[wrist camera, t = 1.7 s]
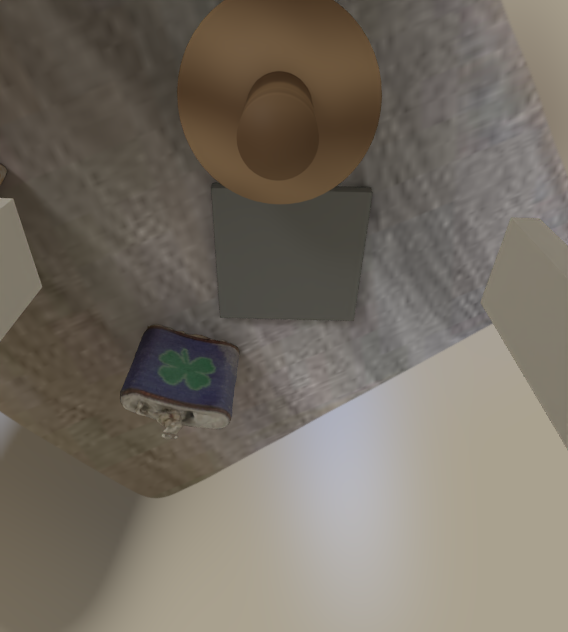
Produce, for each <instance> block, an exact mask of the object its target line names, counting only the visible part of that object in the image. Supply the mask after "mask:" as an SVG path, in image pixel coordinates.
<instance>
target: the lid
mask: <svg viewBox="0 0 568 632" xmlns="http://www.w3.org/2000/svg"><path fill="white" fill-rule="evenodd" d="M177 97H178V109H179V115H180V121H181V124H182V127H183V131H184V134H185V136H186V139H187V141H188V143H189V146H190V147H191V149H192V151H193V153H194V154H195V156H196V158H197V159H198V160H199V162H200V163H201V165H202V166H203V167H204V168H205V169H206V170H207V172H208V173H209V174H210V175H211V176H212V177H213V178H214V179H216V180H217V181H218V182H219V183H220V184H222V185H223V186H225V187H226V188H228V189H229V190H231V191H232V192H234V193H236V194H238V195H240V196H242V197H245V198H248V199H250V200H253V201H257V202H262V203H268V204H292V203H299V202H303V201H307V200H310V199H313V198H315V197H318V196H320V195H322V194H324V193H326V192H328V191H329V190H331V189H333V188H334V187H336V186H337V185H338V184H340V183H341V182H342V181H344V180H345V179H346V178H347V177H348V176H349V175H350V174H351V173H352V172H353V171H354V169H355V168H356V167H357V166H358V164H359V163H360V162H361V160H362V159H363V157H364V156H365V154H366V152H367V151H368V149H369V147H370V145H371V142H372V140H373V138H374V135H375V132H376V129H377V126H378V122H379V117H380V112H381V100H382V91H381V78H380V72H379V67H378V64H377V60H376V57H375V53H374V51H373V49H372V47H371V44H370V42H369V40H368V38H367V37H366V35H365V33H364V32H363V30H362V28H361V27H360V26H359V24H358V23H357V22H356V21H355V19H354V18H353V17H352V16H351V15H350V14H349V13H348V12H347V11H346V10H345V9H344V8H343V7H342V6H340V5H339V4H338V3H336V2H335V1H333V0H224V1H223V2H221V3H220V4H219V5H218V6H216V7H215V8H214V9H213V10H212V11H211V12H210V13H209V14H208V15H207V16H206V17H205V18H204V19H203V20H202V22H201V23H200V25H199V26H198V28H197V29H196V30H195V32H194V33H193V35H192V37H191V39H190V41H189V43H188V45H187V47H186V50H185V53H184V56H183V59H182V61H181V66H180V71H179V76H178V88H177Z"/></svg>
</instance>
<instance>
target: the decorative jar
mask: <svg viewBox="0 0 568 632" xmlns="http://www.w3.org/2000/svg"><path fill="white" fill-rule="evenodd" d="M6 172H7V171H6V168H5V167H4V166H2V165H0V185H1V183H2V181H3V180H4V178H5V175H6Z"/></svg>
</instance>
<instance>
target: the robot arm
mask: <svg viewBox="0 0 568 632" xmlns="http://www.w3.org/2000/svg"><path fill="white" fill-rule="evenodd" d="M41 288H42V285H41V282H40V279H39V276H38V273H37V270H36V267H35V263H34V260H33V257H32V254H31V251H30V248H29V245H28V242H27V239H26V236H25V233H24V230H23V227H22V224H21V221H20V218H19V215H18V212H17V209H16V206H15V203H14V200H13V198H0V341H1V340H2V338H3V337H4V336H5V334H6V333H7V332H8V331H9V329H10V328H11V327H12V325H13V324H14V323H15V322H16V320H17V319H18V318H19V316H20V315H21V314H22V313H23V311H24V310H25V309H26V307H27V306H28V305H29V304H30V302H31V301H32V300H33V298H34V297H35V296H36V295H37V293H38V292H39V291H40V289H41ZM481 304H482V306H483V307H484V309H485V311H486V312H487V314H488V316H489V318H490V319H491V321H492V323H493V324H494V326H495V328H496V329H497V331H498V333H499V334H500V336H501V338H502V339H503V341H504V343H505V344H506V346H507V348H508V349H509V351H510V353H511V355H512V356H513V358H514V360H515V361H516V363H517V365H518V366H519V368H520V370H521V372H522V373H523V375H524V377H525V378H526V380H527V382H528V383H529V385H530V387H531V388H532V390H533V392H534V394H535V395H536V397H537V399H538V400H539V402H540V404H541V405H542V407H543V409H544V411H545V412H546V414H547V416H548V417H549V419H550V421H551V422H552V424H553V426H554V427H555V429H556V431H557V432H558V434H559V436H560V438H561V439H562V441H563V443H564V444H565V446H566V448H567V449H568V246H567V245H566V244H565V243H564V242H563V241H562V240H561V239H560V238H559V237H558V236H557V235H556V234H555V233H554V232H553V231H552V230H551V229H550V228H548V227H547V226H546V225H545V224H544V223H543V222H542V221H541V220H540V219H534V218H511V219H510V222H509V225H508V227H507V230H506V233H505V236H504V238H503V241H502V244H501V247H500V250H499V252H498V255H497V258H496V261H495V263H494V266H493V269H492V272H491V275H490V277H489V280H488V283H487V286H486V288H485V291H484V294H483V297H482V300H481Z"/></svg>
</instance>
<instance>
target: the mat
mask: <svg viewBox="0 0 568 632" xmlns="http://www.w3.org/2000/svg"><path fill="white" fill-rule="evenodd" d="M372 193H373V192H372V190H371V188H366V187H334V188H333V189H331V190H329V191H328V192H326V193H324V194H322V195H320V196H318V197H315V198H313V199H310V200H307V201H303V202H299V203H292V204H268V203H262V202H257V201H253V200H250V199H248V198H245V197H242V196H240V195H238V194H236V193H234V192H232V191H231V190H229V189H228V188H226V187H225V186H223V185H222V184H220V183H213V184H212V187H211V195H212V210H213V224H214V238H215V253H216V267H217V281H218V296H219V310H220V318H255V319H295V320H336V321H354V314H355V308H356V301H357V294H358V287H359V281H360V274H361V267H362V260H363V254H364V247H365V240H366V234H367V227H368V220H369V213H370V207H371V200H372Z"/></svg>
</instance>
